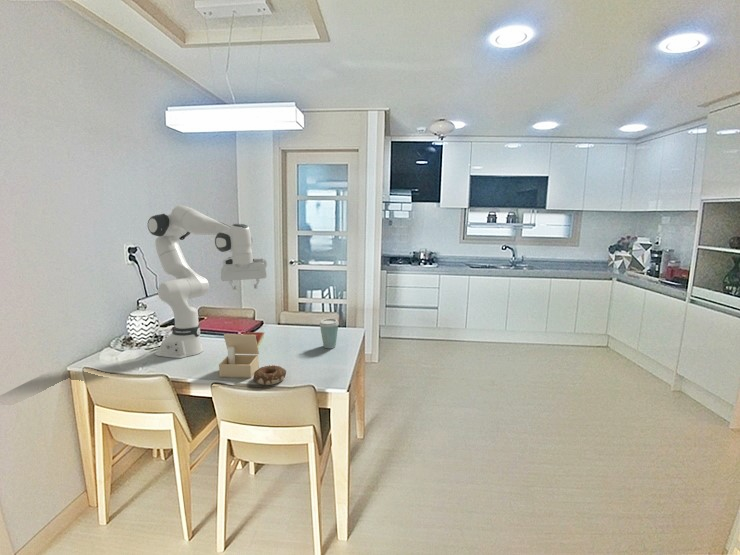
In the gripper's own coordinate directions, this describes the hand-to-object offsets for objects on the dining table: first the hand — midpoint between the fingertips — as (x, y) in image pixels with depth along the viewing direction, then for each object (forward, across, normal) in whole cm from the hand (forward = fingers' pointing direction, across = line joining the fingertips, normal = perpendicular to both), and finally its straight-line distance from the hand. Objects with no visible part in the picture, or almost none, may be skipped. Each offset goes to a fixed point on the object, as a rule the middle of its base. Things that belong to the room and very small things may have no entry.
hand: (245, 289), depth 181 cm
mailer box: (+37, +5, +7) cm, 38 cm away
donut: (+39, -8, +18) cm, 43 cm away
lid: (+25, +3, +3) cm, 26 cm away
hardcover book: (+37, 0, -31) cm, 48 cm away
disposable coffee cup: (+39, -41, -16) cm, 59 cm away
